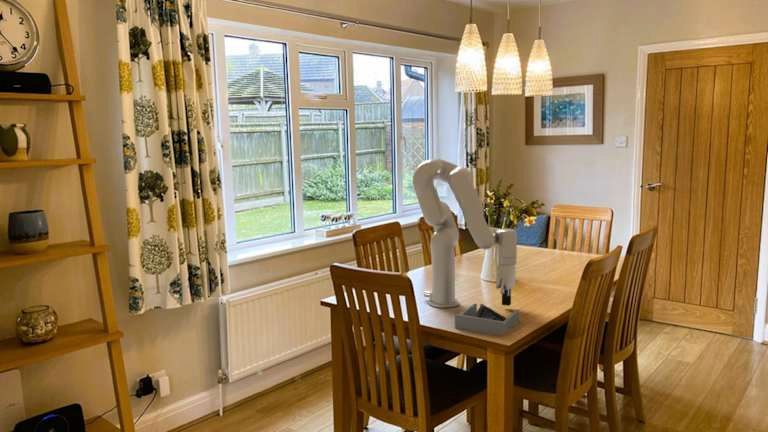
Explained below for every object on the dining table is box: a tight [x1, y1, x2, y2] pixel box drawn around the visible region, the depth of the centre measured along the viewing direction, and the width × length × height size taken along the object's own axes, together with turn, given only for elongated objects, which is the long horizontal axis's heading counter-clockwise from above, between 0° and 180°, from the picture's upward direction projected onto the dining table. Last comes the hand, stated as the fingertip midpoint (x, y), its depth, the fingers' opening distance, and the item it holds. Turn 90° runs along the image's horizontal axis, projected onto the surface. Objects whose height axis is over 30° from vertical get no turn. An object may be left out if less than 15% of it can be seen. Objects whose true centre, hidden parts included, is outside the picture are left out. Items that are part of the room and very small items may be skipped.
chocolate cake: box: [475, 303, 508, 321], centre depth 216 cm, size 10×7×12 cm
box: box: [454, 303, 520, 337], centre depth 213 cm, size 18×19×5 cm
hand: (506, 304), depth 231 cm, fingers closed
